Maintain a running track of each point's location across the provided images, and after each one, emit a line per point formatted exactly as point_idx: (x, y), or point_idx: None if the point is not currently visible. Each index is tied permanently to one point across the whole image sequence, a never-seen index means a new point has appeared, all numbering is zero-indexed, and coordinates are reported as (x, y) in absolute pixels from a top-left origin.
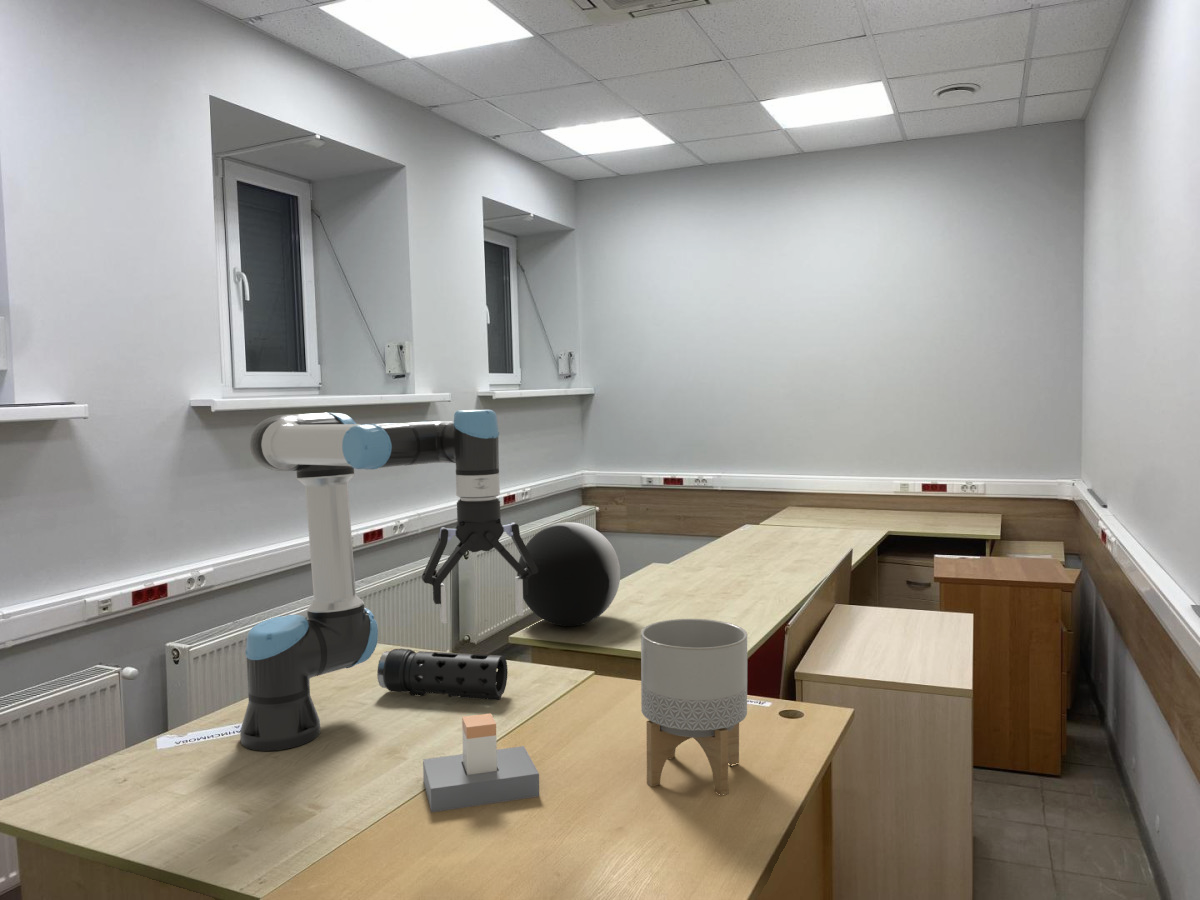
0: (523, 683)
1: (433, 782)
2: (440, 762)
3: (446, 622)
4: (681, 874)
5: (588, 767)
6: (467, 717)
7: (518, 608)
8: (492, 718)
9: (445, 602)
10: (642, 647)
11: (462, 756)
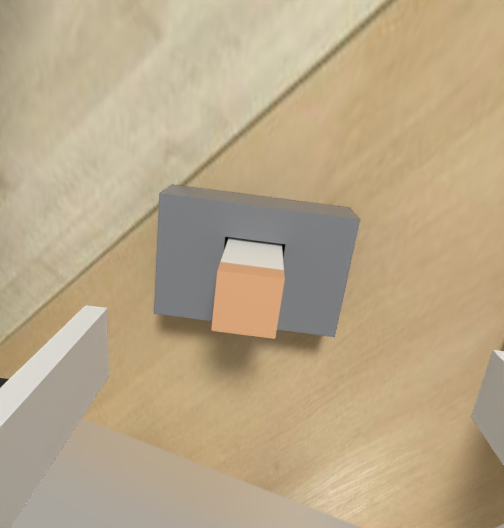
0: None
1: (161, 294)
2: (188, 222)
3: (106, 379)
4: (396, 515)
5: (461, 235)
6: (227, 279)
7: (492, 429)
8: (277, 308)
9: (55, 452)
10: None
11: (233, 214)
